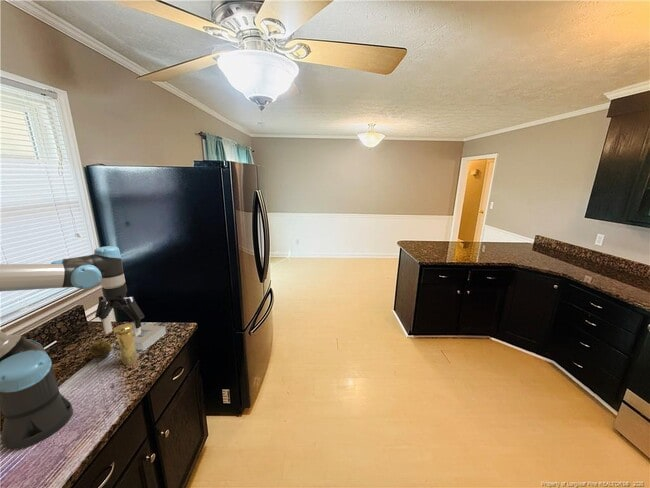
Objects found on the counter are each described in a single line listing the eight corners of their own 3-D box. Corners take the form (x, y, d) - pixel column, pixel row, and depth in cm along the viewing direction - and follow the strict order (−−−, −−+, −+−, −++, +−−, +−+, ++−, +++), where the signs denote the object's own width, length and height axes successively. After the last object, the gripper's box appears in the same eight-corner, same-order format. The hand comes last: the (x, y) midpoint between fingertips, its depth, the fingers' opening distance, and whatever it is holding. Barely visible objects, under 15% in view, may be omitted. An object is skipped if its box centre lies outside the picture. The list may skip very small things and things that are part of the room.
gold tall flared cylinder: (130, 366, 108) (123, 332, 105) (117, 365, 109) (109, 331, 106) (143, 356, 114) (136, 323, 111) (130, 355, 115) (123, 322, 112)
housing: (143, 350, 119) (142, 342, 118) (116, 348, 121) (114, 340, 120) (166, 333, 132) (164, 326, 131) (141, 331, 134) (139, 324, 133)
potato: (117, 344, 123) (114, 329, 121) (111, 361, 112) (107, 344, 110) (95, 350, 120) (91, 334, 118) (86, 367, 108) (81, 350, 107)
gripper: (149, 283, 106) (157, 330, 110) (95, 280, 109) (105, 326, 114) (134, 290, 98) (142, 341, 103) (76, 287, 102) (87, 336, 107)
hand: (123, 333), depth 108 cm, fingers open, 13 cm apart
